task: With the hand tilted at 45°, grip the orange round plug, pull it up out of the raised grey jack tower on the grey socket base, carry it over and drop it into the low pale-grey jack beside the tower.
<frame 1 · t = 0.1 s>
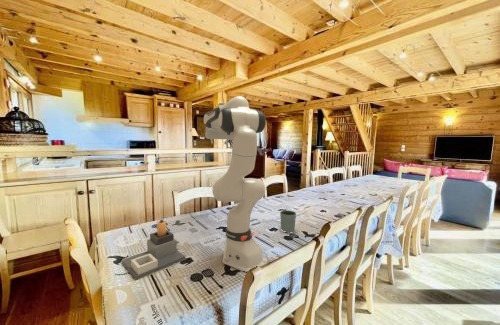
hand: (219, 143, 154), 54 cm above the table, tool tilted 30°, fingers open, 8 cm apart
grey cup: (287, 230, 140), on the table
grey socket base: (154, 260, 100), on the table
plug: (161, 240, 105), point 7 cm above the table, touching grey socket base
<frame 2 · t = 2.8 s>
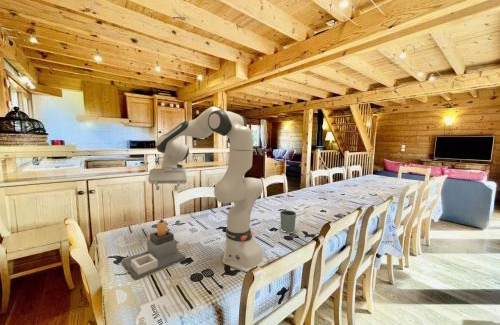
hand: (166, 189, 116), 29 cm above the table, tool tilted 45°, fingers open, 8 cm apart
nothing on the table moved.
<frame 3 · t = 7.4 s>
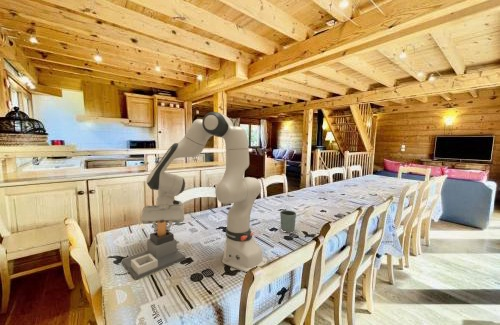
hand: (161, 230, 104), 12 cm above the table, tool tilted 45°, fingers closed on plug, 4 cm apart
plug: (161, 240, 105), point 7 cm above the table, touching grey socket base, gripper
everything else where it was.
when the fingers open (7 cm above the table, at t = 13.3 s): plug drops 1 cm, resting on grey socket base.
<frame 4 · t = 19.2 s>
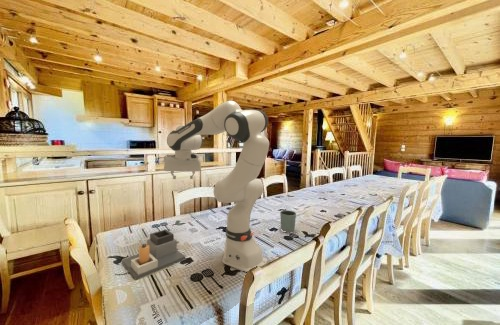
hand: (183, 178, 123), 34 cm above the table, tool pointing down, fingers open, 8 cm apart
plug: (144, 266, 93), point 2 cm above the table, touching grey socket base
everything else where it was.
at the end: plug 0.0 cm from the target spot, point 1.5 cm above the table; plug tilted 0°; the gripper is holding nothing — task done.
